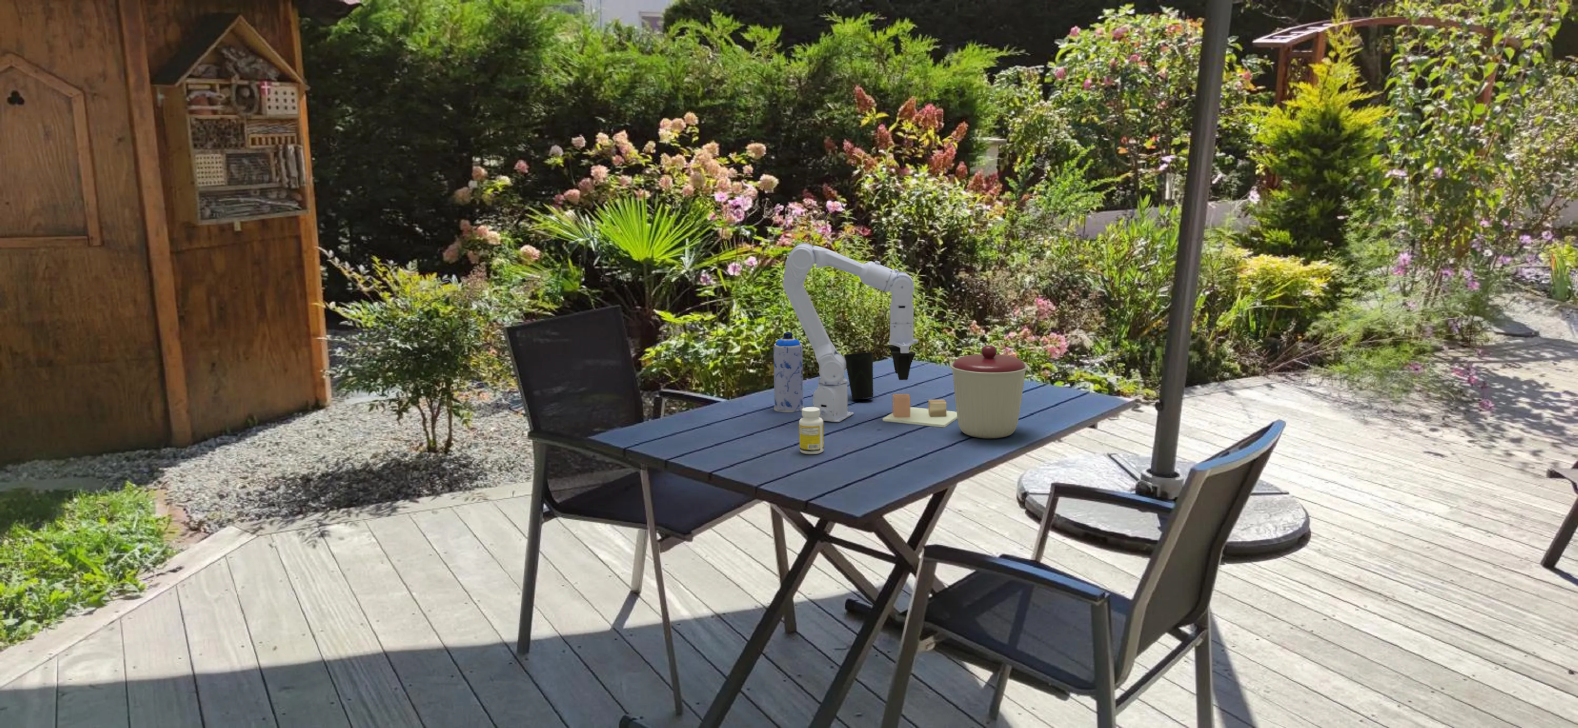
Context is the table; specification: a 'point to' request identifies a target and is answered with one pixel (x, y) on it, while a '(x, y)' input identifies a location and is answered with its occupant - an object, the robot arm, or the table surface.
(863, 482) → the table surface
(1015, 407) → the canister
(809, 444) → the supplement bottle
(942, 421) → the plate
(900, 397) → the terracotta brick
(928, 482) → the table surface
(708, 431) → the table surface
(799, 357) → the aerosol can
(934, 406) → the beech brick
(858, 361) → the cup
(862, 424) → the table surface
